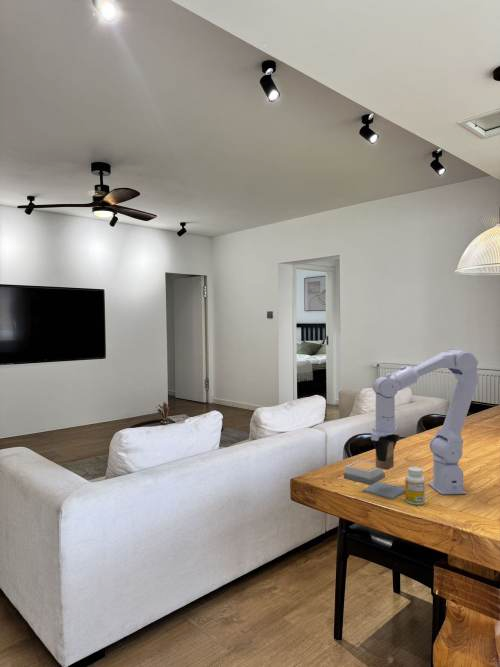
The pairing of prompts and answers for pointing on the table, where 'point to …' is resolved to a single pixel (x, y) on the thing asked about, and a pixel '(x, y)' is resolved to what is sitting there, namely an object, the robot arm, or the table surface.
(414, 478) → the supplement bottle
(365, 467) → the button
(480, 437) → the table surface
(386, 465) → the brown wooden beam
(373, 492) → the rubber mat
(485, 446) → the table surface
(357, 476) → the switch panel
